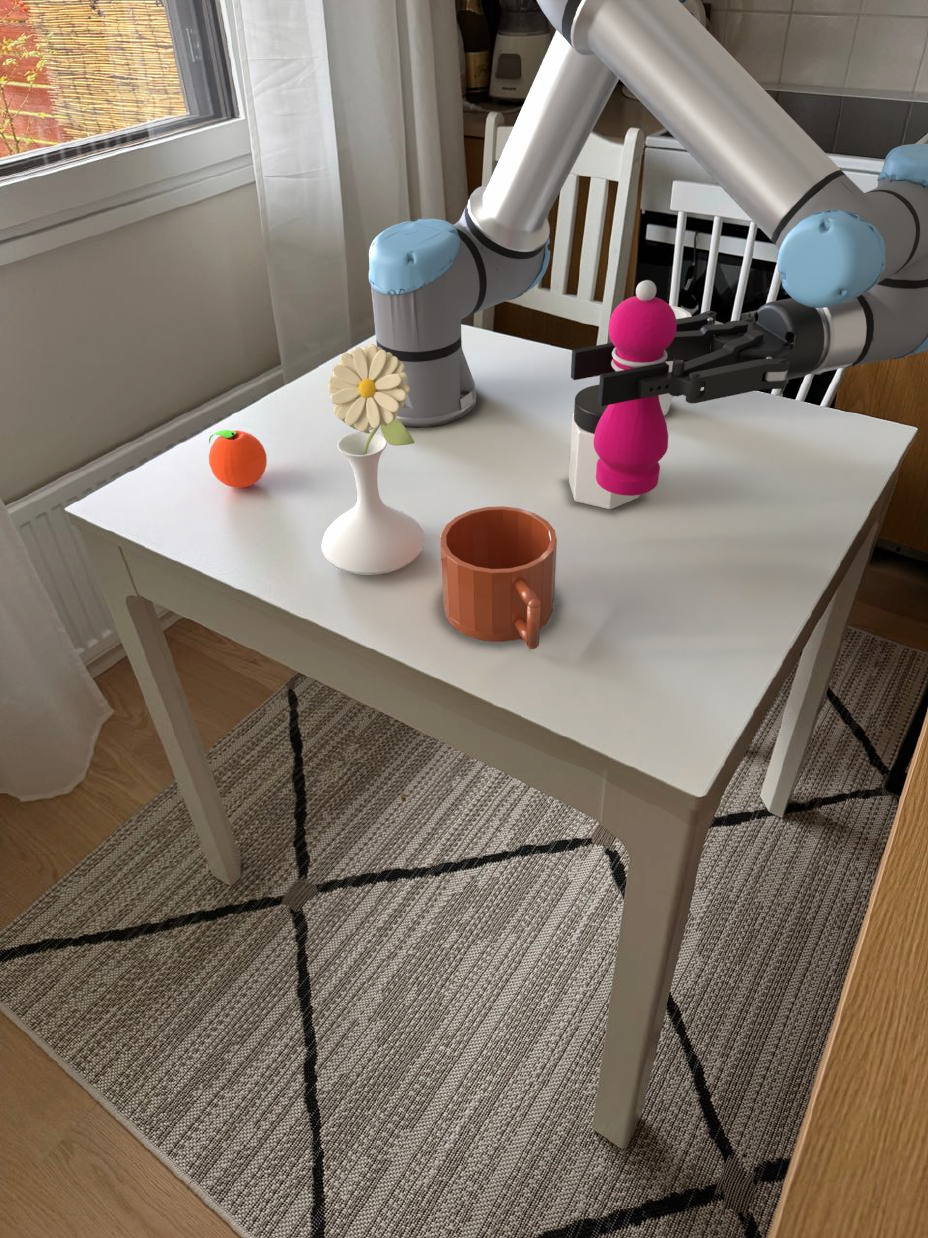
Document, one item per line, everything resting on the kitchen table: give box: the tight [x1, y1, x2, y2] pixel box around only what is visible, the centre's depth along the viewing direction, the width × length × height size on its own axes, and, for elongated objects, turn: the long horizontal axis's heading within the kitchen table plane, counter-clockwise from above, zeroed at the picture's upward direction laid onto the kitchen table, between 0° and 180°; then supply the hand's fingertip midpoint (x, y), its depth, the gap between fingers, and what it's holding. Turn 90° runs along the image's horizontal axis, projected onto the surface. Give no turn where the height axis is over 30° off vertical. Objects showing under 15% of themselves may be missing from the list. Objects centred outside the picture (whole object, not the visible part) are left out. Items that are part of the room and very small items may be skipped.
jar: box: [568, 384, 641, 510], centre depth 106 cm, size 9×8×12 cm
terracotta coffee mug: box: [439, 505, 558, 650], centre depth 89 cm, size 15×11×8 cm
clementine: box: [208, 429, 268, 489], centre depth 111 cm, size 8×7×7 cm
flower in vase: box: [321, 343, 426, 576], centre depth 92 cm, size 13×11×25 cm
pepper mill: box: [593, 279, 677, 496], centre depth 85 cm, size 7×7×20 cm
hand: (587, 377), depth 82 cm, fingers closed on pepper mill, 5 cm apart
